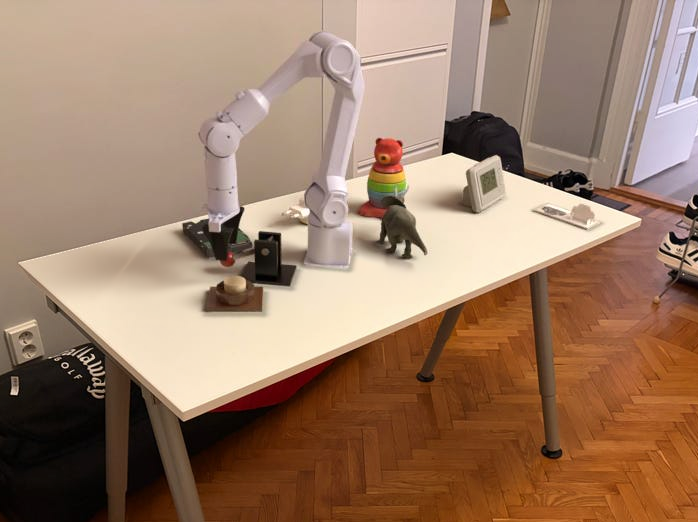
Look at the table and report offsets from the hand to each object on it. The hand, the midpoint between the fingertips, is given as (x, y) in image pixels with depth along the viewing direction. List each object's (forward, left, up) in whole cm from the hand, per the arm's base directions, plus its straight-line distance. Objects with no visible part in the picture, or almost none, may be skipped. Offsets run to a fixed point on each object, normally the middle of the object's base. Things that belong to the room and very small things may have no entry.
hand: (226, 251), depth 142 cm
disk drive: (+6, -14, -5) cm, 16 cm away
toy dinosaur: (-33, -18, -5) cm, 38 cm away
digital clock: (-54, -50, -5) cm, 74 cm away
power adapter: (-11, -28, -5) cm, 31 cm away
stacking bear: (-29, -39, -5) cm, 49 cm away
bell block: (-4, +12, -5) cm, 13 cm away
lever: (-5, 0, -1) cm, 5 cm away
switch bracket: (-8, 0, -5) cm, 10 cm away
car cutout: (-75, -45, -5) cm, 88 cm away
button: (-4, +12, -2) cm, 13 cm away
